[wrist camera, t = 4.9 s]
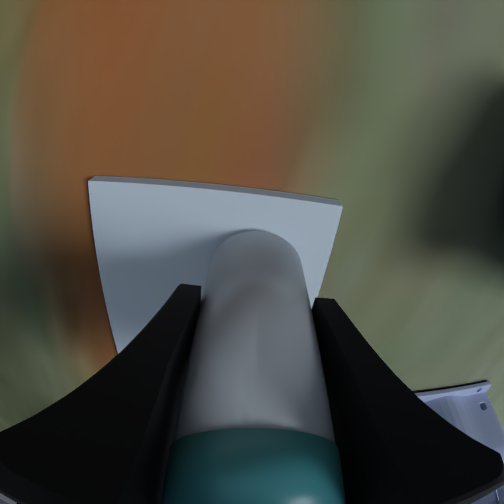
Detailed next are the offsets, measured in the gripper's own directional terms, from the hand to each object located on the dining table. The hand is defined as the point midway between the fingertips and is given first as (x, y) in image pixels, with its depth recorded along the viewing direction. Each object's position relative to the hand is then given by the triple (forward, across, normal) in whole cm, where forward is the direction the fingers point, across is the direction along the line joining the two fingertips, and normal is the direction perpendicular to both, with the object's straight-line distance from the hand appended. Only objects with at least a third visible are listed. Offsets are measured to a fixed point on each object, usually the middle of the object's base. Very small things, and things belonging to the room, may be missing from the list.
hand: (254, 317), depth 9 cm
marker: (+2, 0, 0) cm, 2 cm away
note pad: (+3, +2, +4) cm, 5 cm away
